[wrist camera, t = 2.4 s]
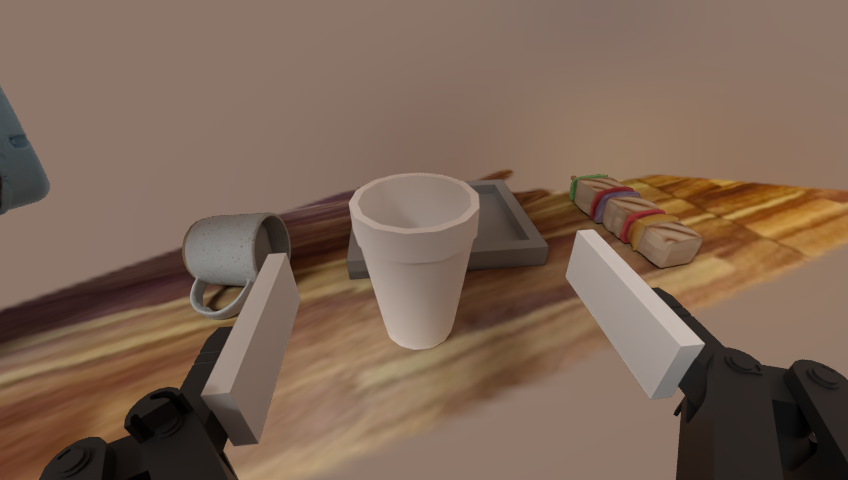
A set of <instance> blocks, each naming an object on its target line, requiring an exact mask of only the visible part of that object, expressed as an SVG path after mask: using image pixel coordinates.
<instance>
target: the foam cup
mask: <svg viewBox="0 0 848 480" xmlns="http://www.w3.org/2000/svg"><path fill="white" fill-rule="evenodd" d="M349 208H350V214H351V220H352V227H353V232H354V235H355V237H356V240H357V243H358V246H359V247H361V249H362V252H363V256H364V259H365V262H366V265H367V269H368V272H369V275H370V278H371V282H372V285H373V288H374V291H375V295H376V298H377V301H378V304H379V308H380V311H381V314H382V317H383V321H384V323H385V326H386V329H387V332H388V335H389V337H390V338H391V339H392V340H393V341H395V342H396V343H397V344H398V345H399V346H402V347H406V348H409V349H413V350H420V349H429V348H433V347H434V346H436V345H438V344H440V343H442V342H443V341H445V340H446V338H447V337H448V335H449V334H450V332H451V331H452V327H453V324H454V320H455V316H456V312H457V307H458V303H459V299H460V295H461V290H462V286H463V282H464V278H465V273H466V269H467V265H468V261H469V256H470V252H471V248H472V244H473V240H474V239H475V238H476V237H477V231H478V220H479V208H480V207H479V194H478V193H477V192H476V191H475V190H474V189H473V188H471V187H470V186H469V185H468V184H467V183H466V182H463V181H460V180H457V179H454V178H451V177H449V176H446V175H438V174H429V173H407V174H396V175H392V176H388V177H384V178H380V179H377V180H373V181H372V182H370V183H368V184H366V185H365V186H363V187H361V188H360V189H358V190H356V192H355V194H354V195H353V197H352V199H351V200H350V202H349Z"/></svg>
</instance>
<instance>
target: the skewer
mask: <svg viewBox="0 0 848 480" xmlns="http://www.w3.org/2000/svg"><path fill="white" fill-rule="evenodd" d="M571 179H572V180H573V181H572V183H571V187H570V193H569V198H570V199H571V200H573V201H575V204H576V205H577V206H578V207H579V208H580V209H581V210H582V211H584V212H585V213H586V214H588V215H589V216H590V218H591V219H592V220H595V222H596V223H603V225H604V226H605V228H606V229H607V230H608V231H610V232H613V233H614V234H615V235H616V237H618V238H620V240H621V241H622V242H623V243H631V245H632V249H633V251H635V250H637V251H638V252H640V253H641V254H642V255H644V256H645V257H646V258H647V259H649V260H650V261H651V262H652V263H654V264H655V265H657V266H658V267H660V268H663V267H669V266H675V265H680V264H685V263H689V262H691V261H692V259H693V258H694V256H695V255H696V253H697V252H698V250H699V248H700V246H701V244H702V241H703V237H701V236H700V235H699V234H697V233H696V232H694V231H693V230H691V229H689V228H688V227H686V226H684V225H683V224H682V223H680V222H679V221H678V220H679V219H678V218H677V217H675V216H673V215H670V214H665V211H663V210H660V209H658V207H657V206H656V205H655V204H654V203H652V202H650V201H647V200H644V199H643V198H641V197H640V194H639V193H638V192H636V191H634V190H633V188H630V187H626V186H623V185H621V184H620V183H619V182H618V181H617V180H615V179H613V178H611V177H608V175H600V174H598V175H590V176H582V177H578V178H577V177H576V176H571Z"/></svg>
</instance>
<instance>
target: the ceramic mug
mask: <svg viewBox="0 0 848 480" xmlns="http://www.w3.org/2000/svg"><path fill="white" fill-rule="evenodd" d="M277 253H287V257H288V260H289V263H290V257H291V245H290V238H289V233H288V230H287V228H286V226H285V224H284V222H283V220H282V219H281V218H280V217H279V216H278V215H276V214H274V213H256V214H240V215H222V216H212V217H208V218H205V219H201V220H199V221H197V222H195V223H194V224H193V225H192V226H191V227H190V229H189V230H188V232H187V233H186V235H185V238H184V241H183V247H182V256H183V261H184V263H185V266H186V268H187V270H188V271H189V273H190V274H191V275H192V276H193V277H194V278H195V279H196V280H195V282H194V284H193V286H192V289H191V292H190V302H191V304H192V306H193V308H194V309H195V310H196V311H197V312H198V313H200V314H202V315H204V316H205V317H207V318H210V319H217V320H218V319H227V318H230V317H232V316H234V315H236V314H238V313H239V312H241V310H242V308H243V306H244V304H245V302H246V300H247V298H248V295H249V293H250V291H251V289H252V287H253V285H254V283H255V281H256V279H257V277H258V275H259V272H260V270H261V268H262V266H263V264H264V262H265V260H266V258H267V256H268V254H277ZM207 284H214V285H234V286H245V288H244V289H243V290H242V292H241V293H240V295H239V296H238V297H237V298H236V300H234V301H233V302H232V303H231V304H230V305H229V306H226V307H225V308H224V309H221V310H219V311H213V310H211V309H210V308H209V307H204V306H203V303H202V300H203V294H204V291H205V288H206V286H207Z"/></svg>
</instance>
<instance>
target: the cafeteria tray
mask: <svg viewBox="0 0 848 480" xmlns="http://www.w3.org/2000/svg"><path fill="white" fill-rule="evenodd" d="M466 183H467V184H468V185H469V186H470V187H471V188H473V189H474V190H475V191H476V192H477V193H478V194H479V207H480V208H479V220H478V231H477V237H476V238H475V239H474V240H473V244H472V248H471V252H470V256H469V261H468V265H467V269H466V271H467V270H480V269H494V268H507V267H520V266H533V265H545V262H546V258H547V254H548V249H549V246H548V244H547V243H546V242H545V240H544V239H543V237H542V236H541V234H540V233H539V231H538V230H537V229H536V227H535V226H534V224H533V223H532V221H531V220H530V219H529V217H528V216H527V214H526V213H525V211H524V210H523V209H522V207H521V206H520V204H519V203H518V201H517V200H516V198H515V197H514V196H513V194H512V193H511V191H510V190H509V189H508V187H507V186H506V184H505V183H504V181H503V180H502V179H500V180H483V181H466ZM360 188H361V187H358V188H357V190H358V189H360ZM347 266H348V272H349V277H350V279H361V278H370V275H369V272H368V269H367V265H366V262H365V259H364V256H363V252H362V249H361V247H359V246H358V243H357V240H356V237H355V235H354V232H353V227H351V234H350V241H349V248H348V255H347Z"/></svg>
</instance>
